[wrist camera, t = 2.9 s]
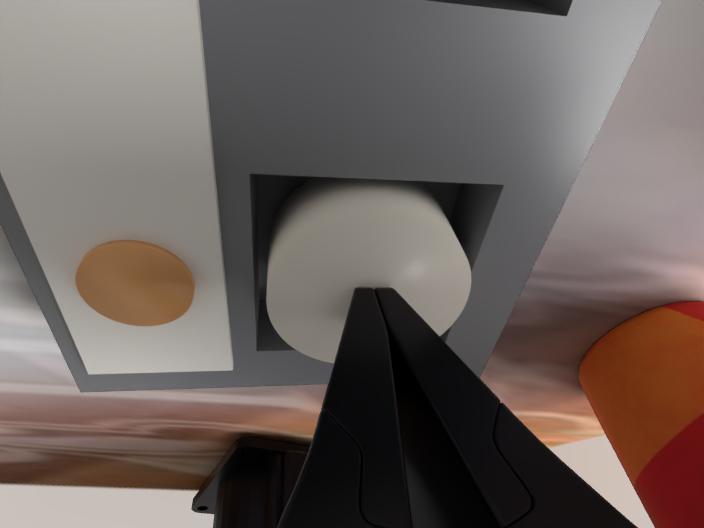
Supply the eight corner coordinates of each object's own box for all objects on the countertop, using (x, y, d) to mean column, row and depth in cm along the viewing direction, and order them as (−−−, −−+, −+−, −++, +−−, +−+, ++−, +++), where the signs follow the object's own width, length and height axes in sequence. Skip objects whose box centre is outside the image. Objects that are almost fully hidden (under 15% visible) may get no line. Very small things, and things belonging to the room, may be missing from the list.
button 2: (424, 307, 13) (443, 362, 11) (269, 307, 12) (267, 367, 10) (466, 168, 10) (499, 217, 8) (268, 159, 9) (264, 210, 8)
